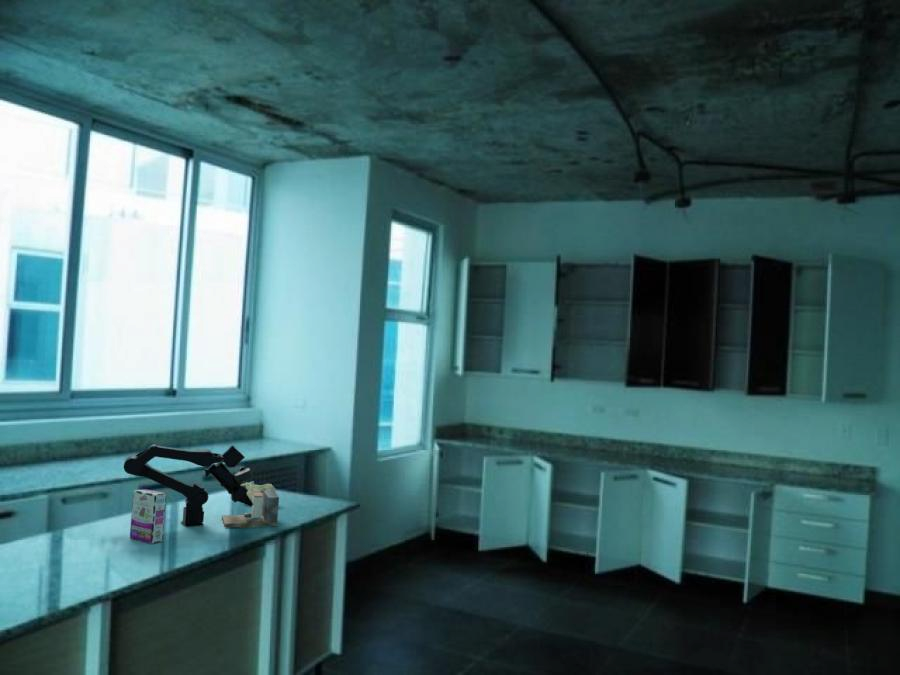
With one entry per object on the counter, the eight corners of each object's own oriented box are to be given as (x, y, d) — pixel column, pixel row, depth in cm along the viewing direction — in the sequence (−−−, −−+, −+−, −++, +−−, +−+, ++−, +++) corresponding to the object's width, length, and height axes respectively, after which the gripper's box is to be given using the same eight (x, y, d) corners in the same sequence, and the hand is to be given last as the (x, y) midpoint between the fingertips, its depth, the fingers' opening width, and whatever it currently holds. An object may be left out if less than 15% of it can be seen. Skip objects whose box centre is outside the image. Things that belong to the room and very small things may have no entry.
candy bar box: (163, 541, 245) (167, 492, 245) (151, 544, 241) (155, 495, 241) (141, 535, 250) (144, 487, 250) (128, 538, 246) (132, 489, 246)
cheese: (280, 511, 307) (276, 483, 318) (276, 501, 302) (272, 473, 313) (244, 521, 304) (241, 493, 315) (239, 511, 299) (236, 483, 310)
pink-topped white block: (252, 520, 275) (254, 495, 275) (251, 516, 280) (252, 492, 280) (261, 520, 276) (262, 495, 276) (259, 516, 281) (260, 492, 281)
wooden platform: (224, 527, 267) (226, 497, 268) (221, 519, 280) (223, 490, 280) (276, 526, 275) (279, 497, 275) (271, 518, 287) (273, 490, 287)
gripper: (243, 465, 267) (272, 495, 271) (238, 457, 284) (265, 485, 288) (219, 487, 264) (248, 517, 268) (215, 477, 281) (243, 505, 285)
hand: (252, 505), depth 277 cm, fingers closed, pressing on pink-topped white block
